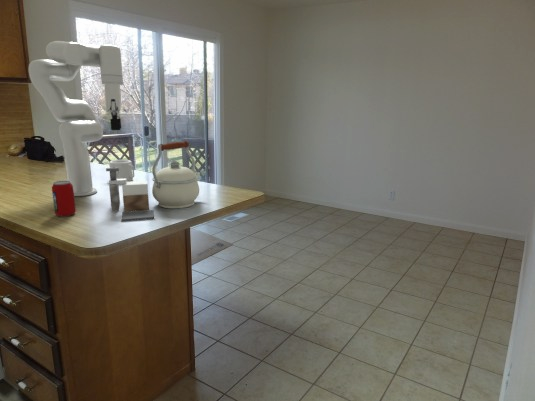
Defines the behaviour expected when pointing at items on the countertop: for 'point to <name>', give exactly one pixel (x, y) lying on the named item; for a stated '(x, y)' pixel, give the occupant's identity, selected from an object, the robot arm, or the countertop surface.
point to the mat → (137, 215)
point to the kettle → (175, 181)
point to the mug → (123, 169)
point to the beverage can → (63, 198)
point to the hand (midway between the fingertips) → (116, 128)
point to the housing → (128, 200)
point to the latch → (113, 177)
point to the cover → (135, 188)
